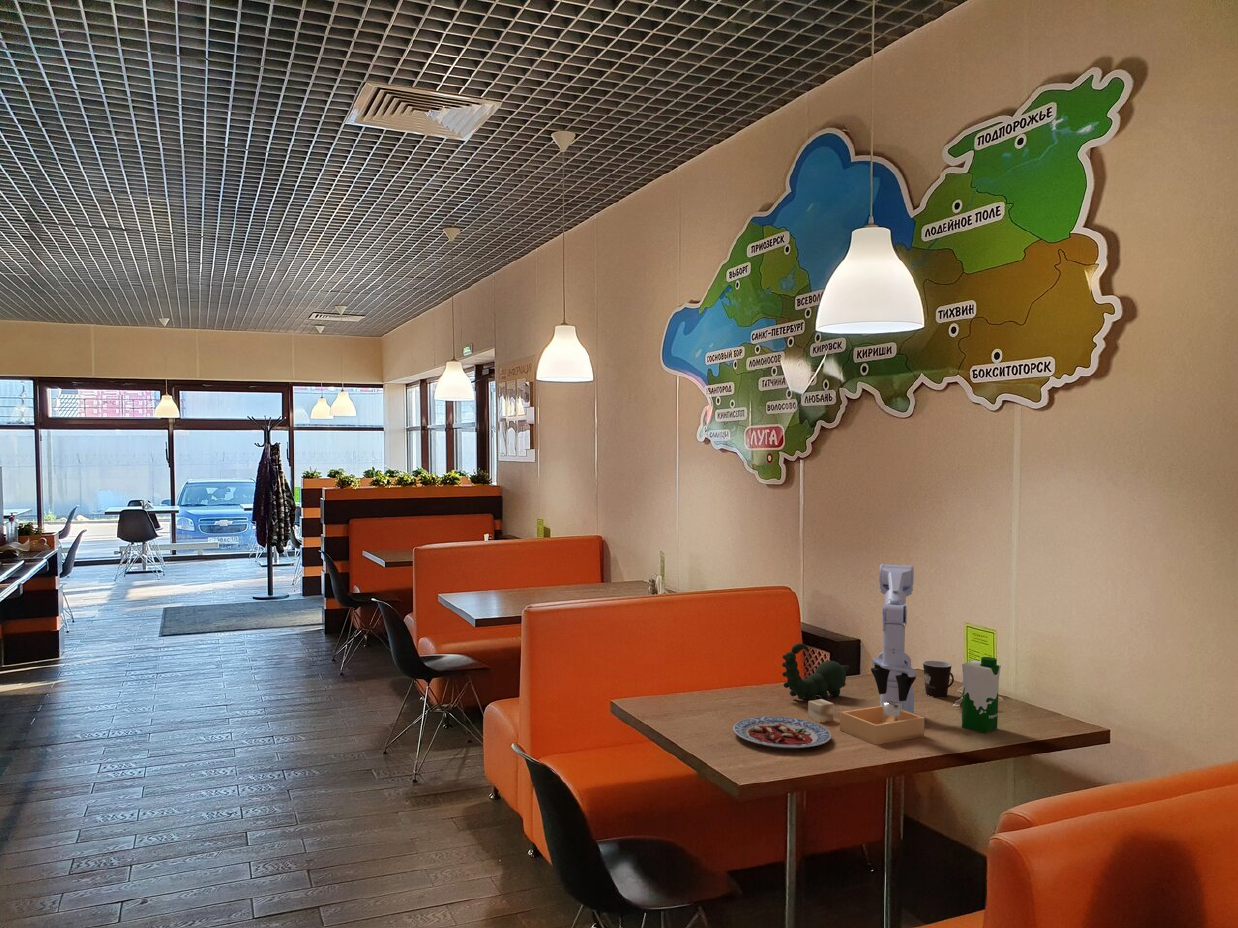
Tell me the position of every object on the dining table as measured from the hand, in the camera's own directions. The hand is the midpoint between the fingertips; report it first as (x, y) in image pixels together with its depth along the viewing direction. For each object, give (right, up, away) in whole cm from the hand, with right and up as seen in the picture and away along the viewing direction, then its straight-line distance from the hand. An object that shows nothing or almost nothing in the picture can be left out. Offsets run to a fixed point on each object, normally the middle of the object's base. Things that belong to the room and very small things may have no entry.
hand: (892, 697), depth 250 cm
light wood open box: (-4, -9, -2) cm, 10 cm away
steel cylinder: (0, -9, 0) cm, 9 cm away
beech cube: (-18, -9, +10) cm, 22 cm away
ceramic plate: (-32, -9, -8) cm, 34 cm away
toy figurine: (-14, -9, +32) cm, 36 cm away
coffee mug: (+26, -10, +37) cm, 46 cm away
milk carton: (+26, -10, +5) cm, 28 cm away
